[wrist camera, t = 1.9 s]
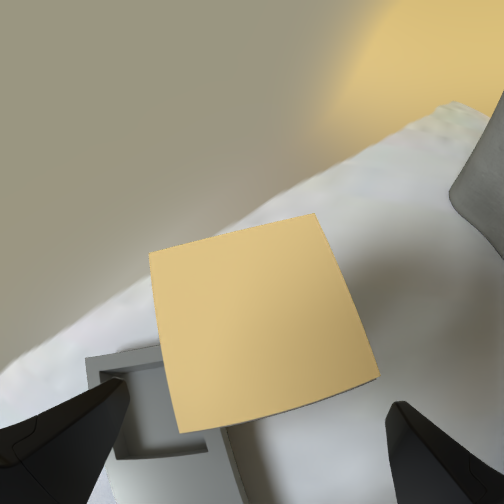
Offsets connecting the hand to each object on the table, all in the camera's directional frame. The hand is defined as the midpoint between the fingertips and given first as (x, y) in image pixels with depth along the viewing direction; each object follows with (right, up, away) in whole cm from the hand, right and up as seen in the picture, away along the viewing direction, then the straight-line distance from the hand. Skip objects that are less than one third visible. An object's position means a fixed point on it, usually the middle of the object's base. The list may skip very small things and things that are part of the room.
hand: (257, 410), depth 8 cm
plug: (0, -3, +10) cm, 10 cm away
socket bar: (-5, -8, +7) cm, 12 cm away
